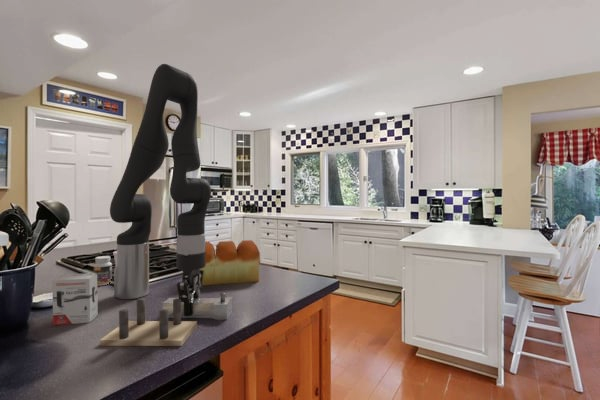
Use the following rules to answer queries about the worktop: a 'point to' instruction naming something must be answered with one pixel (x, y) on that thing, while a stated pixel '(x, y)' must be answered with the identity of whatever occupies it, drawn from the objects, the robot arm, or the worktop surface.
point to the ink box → (75, 298)
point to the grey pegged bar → (204, 307)
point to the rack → (150, 328)
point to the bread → (231, 263)
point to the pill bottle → (103, 270)
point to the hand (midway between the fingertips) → (191, 311)
